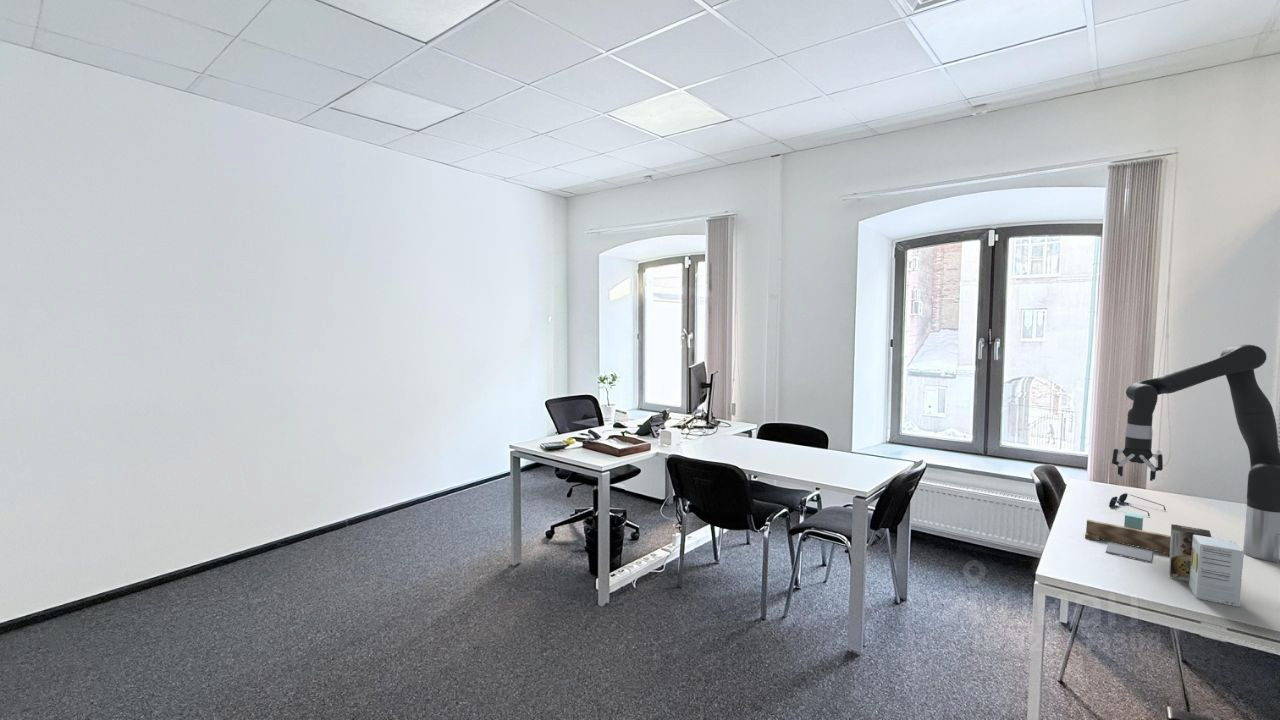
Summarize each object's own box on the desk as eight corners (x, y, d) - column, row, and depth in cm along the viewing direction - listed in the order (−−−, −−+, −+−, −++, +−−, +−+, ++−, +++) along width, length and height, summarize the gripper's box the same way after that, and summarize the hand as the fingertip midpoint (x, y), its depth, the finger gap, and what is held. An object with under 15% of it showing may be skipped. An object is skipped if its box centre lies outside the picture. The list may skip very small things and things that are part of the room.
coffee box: (1207, 579, 177) (1210, 530, 176) (1209, 586, 172) (1212, 535, 171) (1167, 570, 183) (1171, 523, 182) (1168, 577, 178) (1172, 528, 177)
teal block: (1141, 538, 211) (1143, 515, 210) (1141, 541, 207) (1142, 518, 207) (1124, 534, 214) (1125, 512, 214) (1123, 538, 211) (1124, 515, 210)
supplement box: (1188, 586, 172) (1191, 533, 171) (1230, 594, 166) (1234, 540, 165) (1195, 598, 164) (1199, 543, 163) (1240, 608, 159) (1245, 550, 158)
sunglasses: (1124, 502, 255) (1126, 492, 254) (1165, 516, 243) (1168, 505, 242) (1107, 508, 247) (1109, 497, 246) (1148, 522, 234) (1151, 511, 233)
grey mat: (1152, 552, 197) (1152, 551, 197) (1151, 562, 189) (1151, 561, 189) (1108, 543, 206) (1108, 541, 206) (1105, 552, 197) (1105, 550, 197)
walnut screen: (1180, 551, 198) (1181, 535, 198) (1180, 558, 192) (1181, 541, 192) (1087, 532, 216) (1088, 517, 216) (1084, 538, 211) (1085, 522, 210)
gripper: (1165, 437, 206) (1162, 480, 207) (1115, 432, 216) (1112, 472, 217) (1164, 440, 201) (1161, 484, 202) (1112, 434, 211) (1110, 476, 212)
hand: (1135, 478), depth 210 cm, fingers open, 8 cm apart
